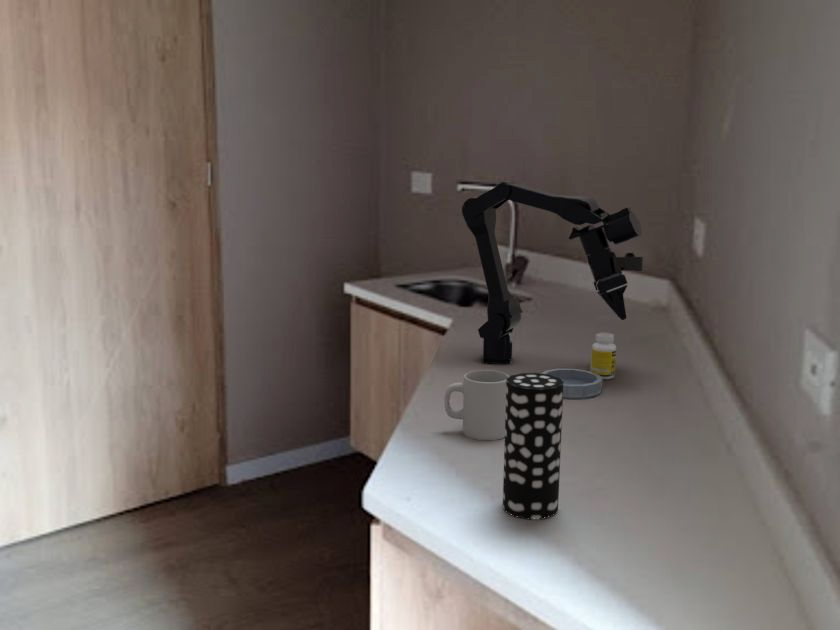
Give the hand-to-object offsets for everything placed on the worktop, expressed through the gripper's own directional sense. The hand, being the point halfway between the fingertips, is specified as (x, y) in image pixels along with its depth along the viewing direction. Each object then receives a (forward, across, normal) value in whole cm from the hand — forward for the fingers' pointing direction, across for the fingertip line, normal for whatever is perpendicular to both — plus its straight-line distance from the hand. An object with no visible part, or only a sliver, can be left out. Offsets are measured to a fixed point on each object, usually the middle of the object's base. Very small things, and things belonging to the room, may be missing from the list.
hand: (622, 318), depth 203 cm
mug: (+8, -38, +34) cm, 51 cm away
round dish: (+10, -8, +16) cm, 20 cm away
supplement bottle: (+11, +3, +9) cm, 15 cm away
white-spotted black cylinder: (+16, -69, +26) cm, 75 cm away
